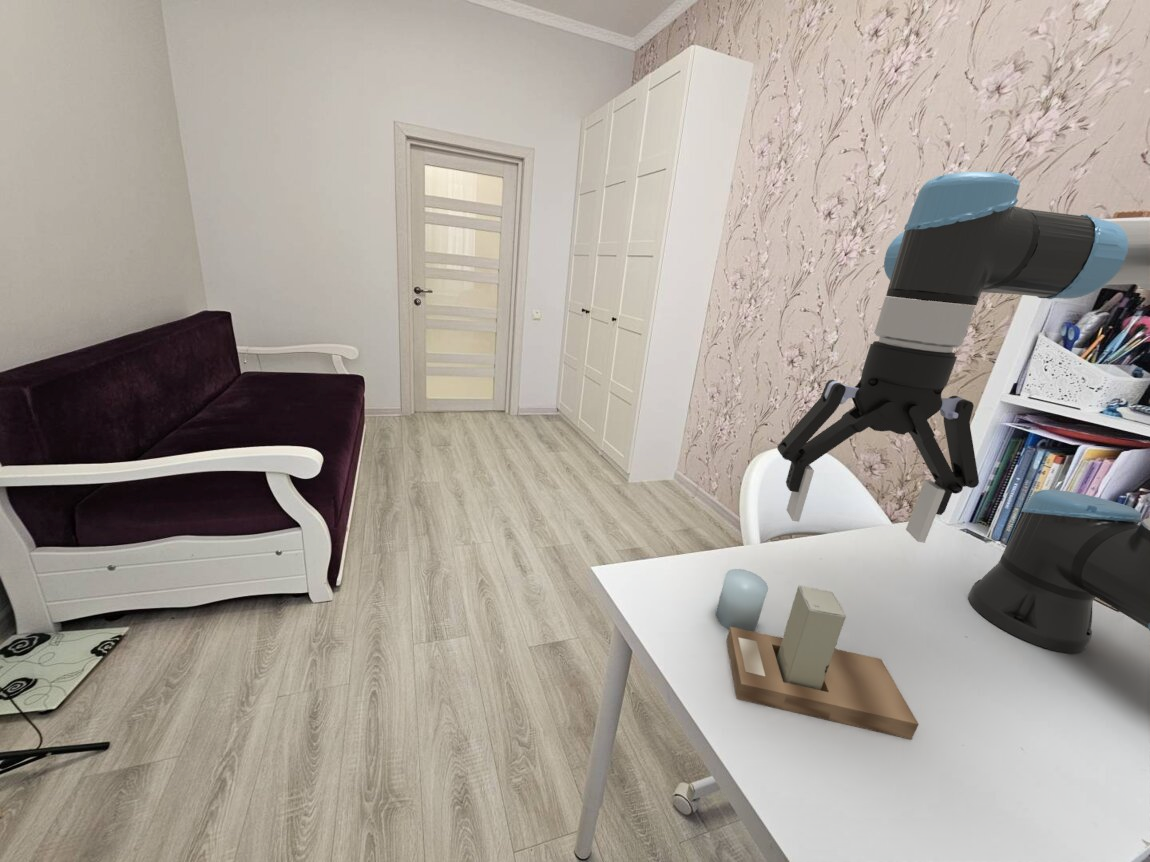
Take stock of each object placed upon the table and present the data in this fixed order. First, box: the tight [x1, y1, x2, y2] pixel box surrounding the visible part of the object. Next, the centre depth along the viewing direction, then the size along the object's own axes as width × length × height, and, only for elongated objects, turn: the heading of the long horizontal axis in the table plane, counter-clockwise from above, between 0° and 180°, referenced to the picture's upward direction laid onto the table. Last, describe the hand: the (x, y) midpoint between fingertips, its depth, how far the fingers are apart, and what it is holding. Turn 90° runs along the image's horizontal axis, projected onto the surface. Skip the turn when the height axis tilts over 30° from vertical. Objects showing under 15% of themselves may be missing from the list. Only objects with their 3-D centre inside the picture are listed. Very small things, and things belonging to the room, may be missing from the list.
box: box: [776, 584, 846, 690], centre depth 59 cm, size 5×4×13 cm
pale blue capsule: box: [715, 568, 769, 632], centre depth 70 cm, size 6×6×7 cm
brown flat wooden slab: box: [726, 627, 920, 740], centre depth 61 cm, size 20×10×2 cm, turn 80°
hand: (852, 526), depth 55 cm, fingers open, 13 cm apart
